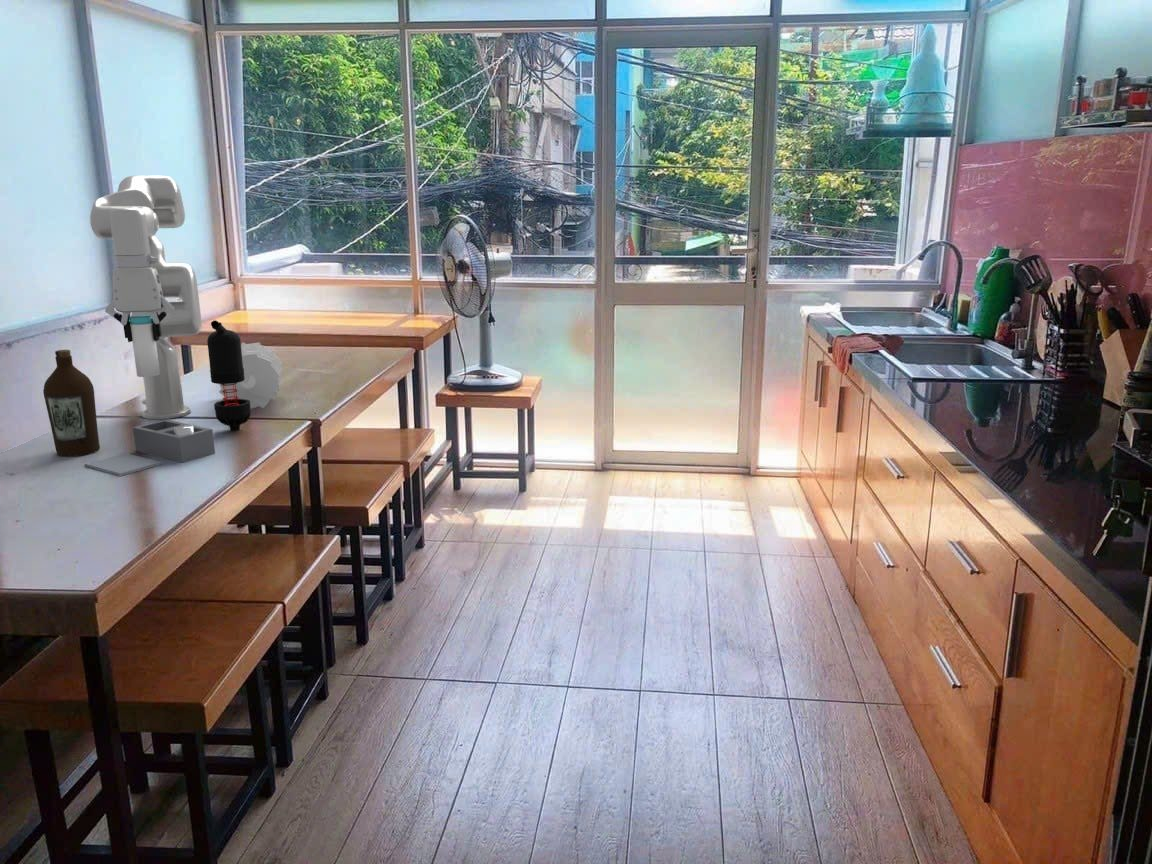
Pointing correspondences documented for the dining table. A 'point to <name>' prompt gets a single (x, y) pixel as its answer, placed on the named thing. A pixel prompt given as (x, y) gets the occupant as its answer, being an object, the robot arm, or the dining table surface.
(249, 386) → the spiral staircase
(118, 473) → the mat
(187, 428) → the silver metallic cylinder
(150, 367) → the cylinder
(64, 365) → the olive oil
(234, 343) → the filter
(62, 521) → the dining table surface
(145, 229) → the robot arm
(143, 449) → the housing
